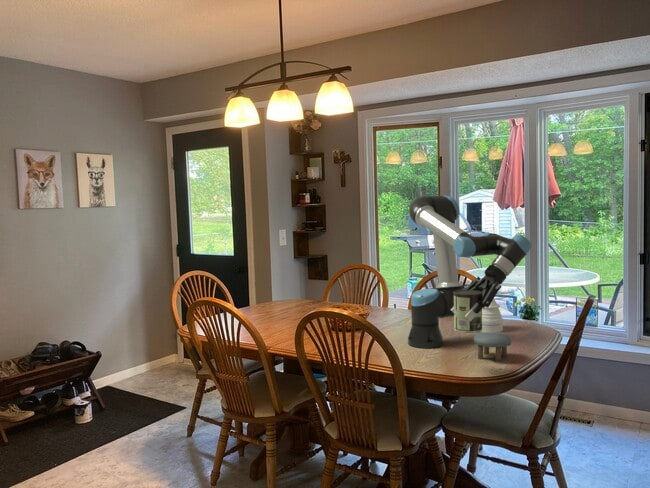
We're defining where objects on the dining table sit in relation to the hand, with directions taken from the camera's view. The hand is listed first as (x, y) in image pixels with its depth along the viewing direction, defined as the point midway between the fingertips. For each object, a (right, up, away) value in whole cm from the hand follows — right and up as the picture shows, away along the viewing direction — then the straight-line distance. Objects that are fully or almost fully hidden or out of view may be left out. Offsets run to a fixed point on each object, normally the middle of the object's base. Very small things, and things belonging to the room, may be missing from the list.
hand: (460, 315), depth 194 cm
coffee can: (+3, -6, +1) cm, 6 cm away
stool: (+16, -18, +15) cm, 29 cm away
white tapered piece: (+29, -15, +59) cm, 67 cm away
